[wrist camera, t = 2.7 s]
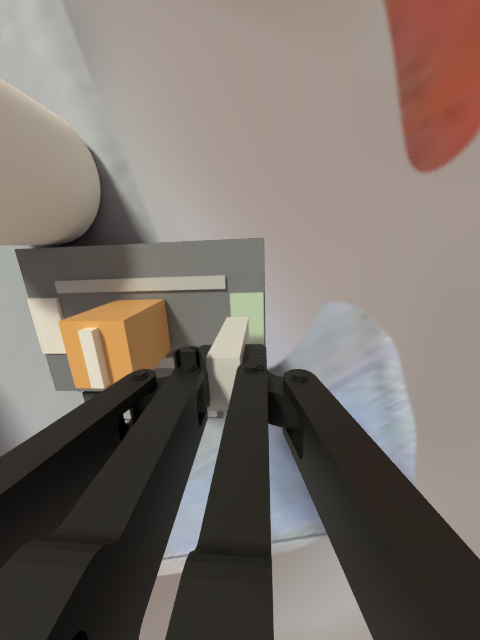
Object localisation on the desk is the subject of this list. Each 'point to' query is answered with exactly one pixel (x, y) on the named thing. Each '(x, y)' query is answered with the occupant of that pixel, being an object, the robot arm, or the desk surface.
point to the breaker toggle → (115, 341)
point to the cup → (42, 175)
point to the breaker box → (146, 290)
